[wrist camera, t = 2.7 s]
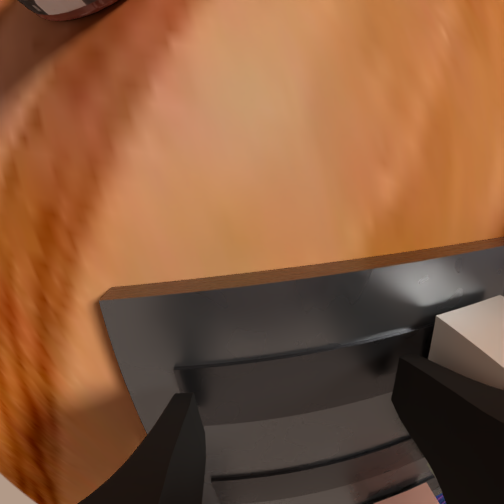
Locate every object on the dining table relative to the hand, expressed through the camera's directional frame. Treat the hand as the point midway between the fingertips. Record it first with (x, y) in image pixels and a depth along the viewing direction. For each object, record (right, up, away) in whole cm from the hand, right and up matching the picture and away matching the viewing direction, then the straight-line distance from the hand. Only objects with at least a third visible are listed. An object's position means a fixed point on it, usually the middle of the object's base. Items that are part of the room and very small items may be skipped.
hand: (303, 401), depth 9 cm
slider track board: (+4, -6, +4) cm, 8 cm away
